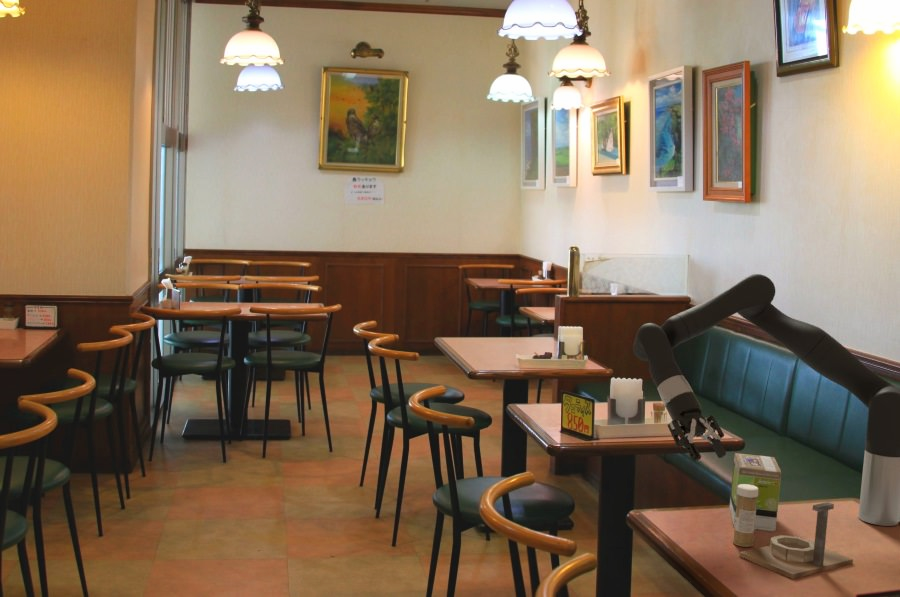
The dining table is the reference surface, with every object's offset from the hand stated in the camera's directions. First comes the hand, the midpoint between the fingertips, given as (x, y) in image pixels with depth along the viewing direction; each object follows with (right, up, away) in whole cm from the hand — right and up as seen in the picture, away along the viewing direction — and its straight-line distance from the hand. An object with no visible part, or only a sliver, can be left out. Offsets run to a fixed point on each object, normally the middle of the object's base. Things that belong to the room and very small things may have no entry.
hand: (710, 458), depth 234 cm
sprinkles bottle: (+5, -18, -7) cm, 21 cm away
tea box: (+13, -17, +11) cm, 24 cm away
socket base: (+15, -20, -15) cm, 29 cm away
